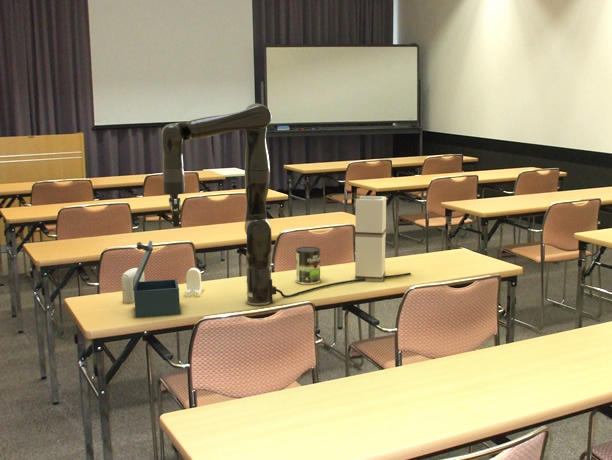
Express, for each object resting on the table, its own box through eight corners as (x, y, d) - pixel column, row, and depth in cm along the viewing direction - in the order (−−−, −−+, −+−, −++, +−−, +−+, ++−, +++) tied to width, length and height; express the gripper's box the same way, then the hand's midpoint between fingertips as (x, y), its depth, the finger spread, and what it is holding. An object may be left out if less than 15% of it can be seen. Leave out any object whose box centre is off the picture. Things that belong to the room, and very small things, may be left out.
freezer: (177, 303, 288) (176, 279, 286) (180, 314, 275) (178, 288, 273) (135, 307, 283) (133, 281, 281) (135, 318, 271) (133, 291, 269)
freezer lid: (151, 241, 281) (138, 236, 279) (153, 248, 268) (139, 243, 266) (134, 281, 282) (121, 276, 280) (135, 290, 269) (121, 285, 267)
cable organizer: (202, 289, 307) (201, 265, 305) (199, 296, 298) (198, 271, 296) (189, 289, 307) (188, 266, 305) (185, 296, 297) (184, 272, 295)
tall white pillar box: (385, 275, 331) (386, 196, 324) (381, 281, 320) (382, 200, 314) (359, 274, 333) (360, 195, 326) (355, 280, 322) (355, 199, 315)
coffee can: (325, 281, 320) (325, 249, 317) (306, 286, 313) (305, 252, 311) (310, 277, 328) (310, 245, 325) (291, 281, 321) (290, 248, 318)
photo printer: (130, 304, 287) (128, 272, 285) (121, 302, 289) (119, 271, 287) (147, 296, 297) (145, 266, 294) (138, 295, 298) (136, 265, 296)
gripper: (185, 182, 266) (187, 227, 270) (183, 177, 280) (184, 220, 283) (163, 183, 264) (166, 228, 267) (162, 178, 278) (164, 221, 281)
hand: (175, 224), depth 275 cm, fingers open, 8 cm apart
